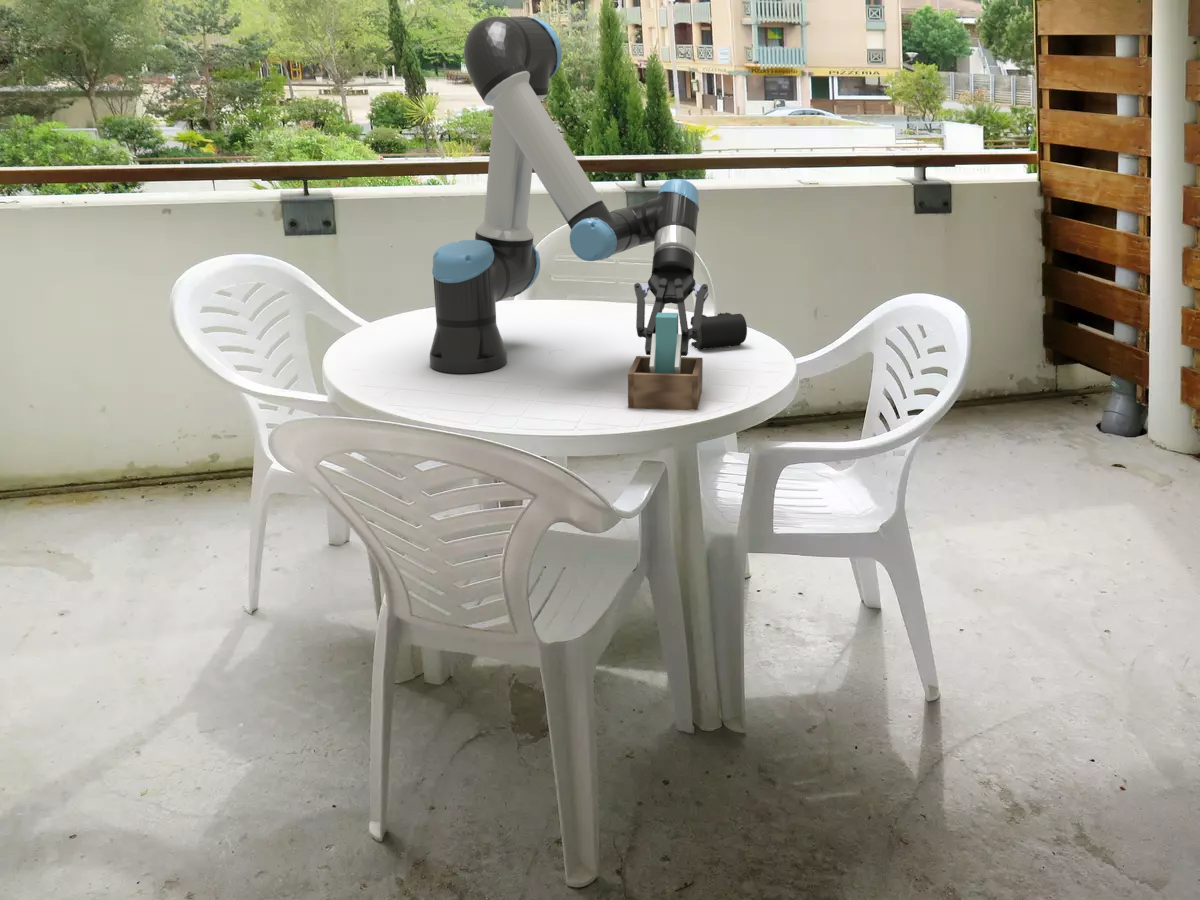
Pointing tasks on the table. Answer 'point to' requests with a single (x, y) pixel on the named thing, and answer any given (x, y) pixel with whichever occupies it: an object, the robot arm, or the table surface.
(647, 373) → the box
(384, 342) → the table surface
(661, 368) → the peg
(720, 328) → the end cap
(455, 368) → the robot arm
